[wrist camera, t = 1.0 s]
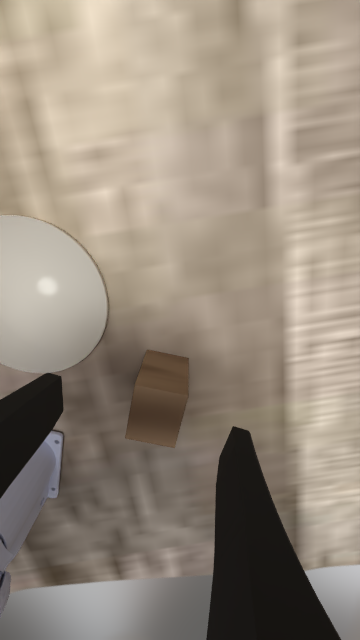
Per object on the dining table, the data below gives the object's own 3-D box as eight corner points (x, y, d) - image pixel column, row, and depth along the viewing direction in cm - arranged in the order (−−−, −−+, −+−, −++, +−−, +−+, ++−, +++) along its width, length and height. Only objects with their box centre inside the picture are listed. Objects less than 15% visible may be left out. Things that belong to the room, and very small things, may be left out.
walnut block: (177, 401, 26) (174, 447, 21) (138, 393, 26) (124, 438, 21) (188, 358, 25) (188, 395, 19) (147, 349, 25) (134, 384, 19)
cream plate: (99, 381, 26) (96, 386, 25) (-44, 352, 25) (-51, 356, 25) (118, 236, 21) (116, 237, 21) (-55, 198, 21) (-64, 196, 20)
